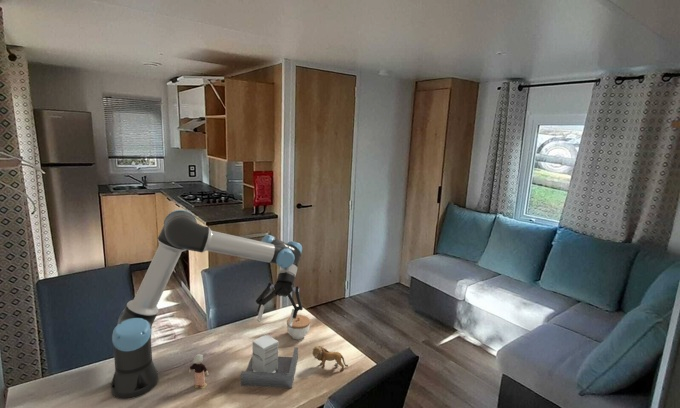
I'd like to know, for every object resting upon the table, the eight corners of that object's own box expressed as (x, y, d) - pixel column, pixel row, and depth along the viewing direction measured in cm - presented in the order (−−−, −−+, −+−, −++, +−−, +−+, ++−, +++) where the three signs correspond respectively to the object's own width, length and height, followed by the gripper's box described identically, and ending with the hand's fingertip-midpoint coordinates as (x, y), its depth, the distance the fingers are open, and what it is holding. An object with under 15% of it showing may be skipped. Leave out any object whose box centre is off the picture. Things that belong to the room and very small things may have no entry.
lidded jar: (308, 342, 162) (309, 323, 161) (284, 341, 162) (285, 322, 161) (310, 330, 173) (311, 312, 171) (288, 329, 173) (288, 311, 171)
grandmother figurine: (211, 382, 134) (210, 352, 132) (208, 389, 130) (207, 358, 128) (191, 381, 134) (189, 351, 132) (186, 388, 130) (185, 357, 128)
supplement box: (251, 369, 142) (251, 340, 139) (267, 361, 147) (267, 333, 145) (263, 378, 137) (263, 348, 134) (278, 369, 142) (278, 340, 140)
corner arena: (240, 385, 133) (240, 373, 132) (252, 356, 151) (252, 345, 150) (291, 388, 133) (292, 376, 132) (297, 358, 151) (298, 347, 150)
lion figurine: (311, 370, 144) (312, 350, 142) (312, 362, 149) (312, 342, 147) (348, 371, 144) (349, 351, 143) (347, 363, 150) (348, 343, 148)
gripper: (315, 282, 159) (305, 330, 148) (262, 275, 164) (248, 321, 152) (312, 275, 153) (301, 325, 142) (258, 268, 158) (242, 316, 146)
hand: (274, 323), depth 147 cm, fingers open, 13 cm apart
